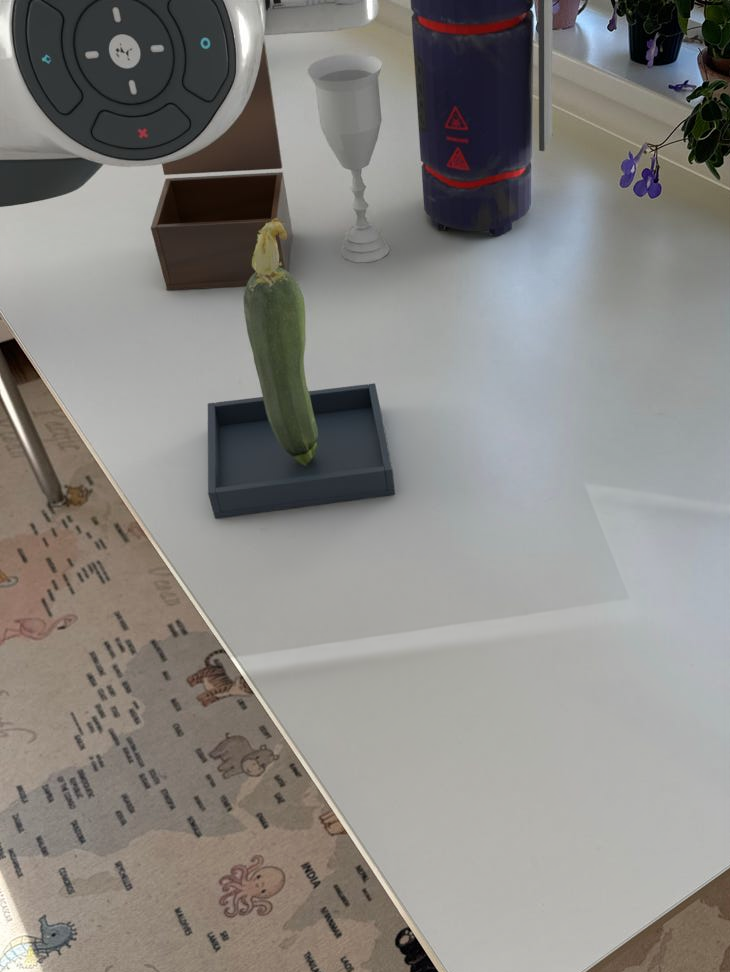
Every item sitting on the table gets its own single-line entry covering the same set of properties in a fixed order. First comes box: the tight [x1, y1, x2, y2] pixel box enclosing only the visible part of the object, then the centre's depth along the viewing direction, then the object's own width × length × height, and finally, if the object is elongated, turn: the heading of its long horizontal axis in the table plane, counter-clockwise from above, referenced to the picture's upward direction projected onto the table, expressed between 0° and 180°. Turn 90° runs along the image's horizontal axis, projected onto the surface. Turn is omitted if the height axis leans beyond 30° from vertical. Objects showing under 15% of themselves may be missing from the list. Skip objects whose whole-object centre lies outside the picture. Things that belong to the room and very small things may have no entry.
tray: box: [207, 383, 396, 519], centre depth 85 cm, size 14×12×2 cm
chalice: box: [307, 53, 390, 263], centre depth 104 cm, size 7×7×18 cm
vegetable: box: [243, 218, 318, 466], centre depth 78 cm, size 4×4×20 cm
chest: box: [150, 171, 293, 291], centre depth 107 cm, size 11×12×7 cm
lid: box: [161, 38, 283, 176], centre depth 105 cm, size 12×12×1 cm
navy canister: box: [410, 0, 554, 237], centre depth 104 cm, size 14×12×30 cm
